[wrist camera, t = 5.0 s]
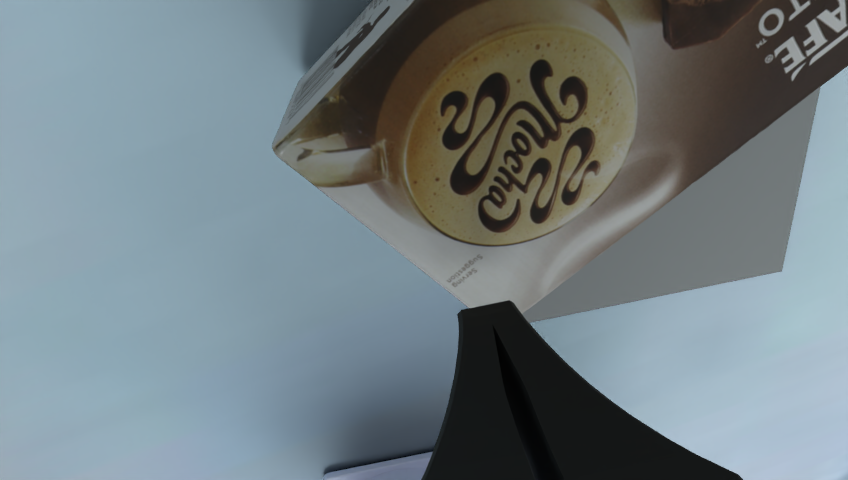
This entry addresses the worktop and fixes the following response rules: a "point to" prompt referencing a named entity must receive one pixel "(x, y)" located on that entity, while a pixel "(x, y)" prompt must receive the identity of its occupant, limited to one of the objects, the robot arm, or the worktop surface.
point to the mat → (702, 228)
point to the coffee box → (542, 122)
